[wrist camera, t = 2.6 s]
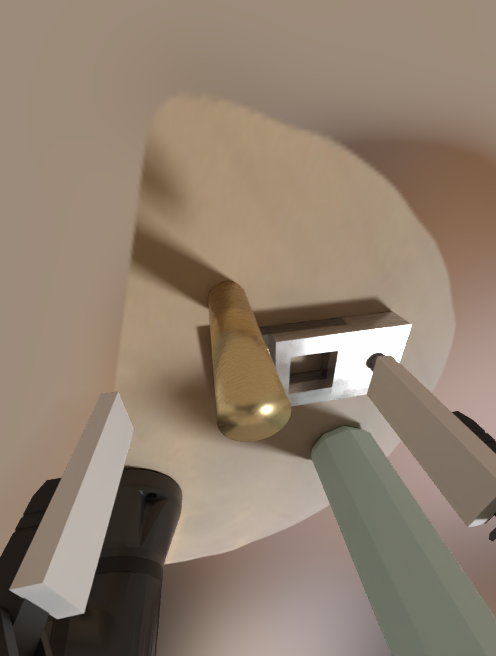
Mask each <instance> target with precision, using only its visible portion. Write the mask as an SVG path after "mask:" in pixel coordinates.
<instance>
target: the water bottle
mask: <svg viewBox="0 0 496 656" xmlns="http://www.w3.org/2000/svg"><path fill="white" fill-rule="evenodd" d="M311 458H312V461H313V463H314V466H315V468H316V471H317V473H318V476H319V478H320V480H321V483H322V485H323V488H324V490H325V493H326V495H327V498H328V500H329V503H330V505H331V508H332V510H333V512H334V515H335V517H336V520H337V522H338V525H339V527H340V530H341V532H342V535H343V537H344V540H345V542H346V545H347V547H348V549H349V552H350V555H351V557H352V559H353V562H354V564H355V567H356V569H357V572H358V574H359V577H360V579H361V582H362V584H363V587H364V589H365V592H366V594H367V596H368V599H369V601H370V604H371V606H372V609H373V611H374V614H375V616H376V619H377V621H378V624H379V626H380V629H381V631H382V633H383V636H384V638H385V641H386V643H387V646H388V648H389V650H390V653H391V656H496V618H495V616H494V615H493V614H492V612H491V611H490V609H489V608H488V606H487V605H486V603H485V602H484V600H483V599H482V597H481V596H480V594H479V593H478V591H477V590H476V589H475V587H474V586H473V584H472V583H471V581H470V580H469V578H468V577H467V575H466V574H465V572H464V571H463V569H462V568H461V566H460V565H459V563H458V562H457V561H456V559H455V558H454V556H453V555H452V553H451V552H450V550H449V549H448V547H447V546H446V544H445V543H444V541H443V540H442V538H441V537H440V536H439V534H438V532H437V531H436V529H435V528H434V526H433V525H432V524H431V522H430V521H429V519H428V518H427V516H426V515H425V513H424V512H423V510H422V509H421V507H420V506H419V504H418V503H417V501H416V500H415V499H414V497H413V496H412V494H411V493H410V491H409V490H408V488H407V487H406V485H405V484H404V482H403V481H402V479H401V478H400V476H399V475H398V474H397V472H396V471H395V469H394V468H393V466H392V465H391V463H390V462H389V460H388V459H387V457H386V456H385V454H384V453H383V451H382V450H381V448H380V447H379V445H378V444H377V442H376V441H375V439H374V438H373V437H372V435H371V434H370V433H369V432H367V431H365V430H362V429H359V428H354V427H348V426H342V427H340V428H337V429H334V430H332V431H329V432H327V433H324V434H323V435H322V436H321V438H320V439H319V440H318V442H317V443H316V444H315V445H314V447H313V449H312V452H311Z"/></svg>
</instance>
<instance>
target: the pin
mask: <svg viewBox="0 0 496 656" xmlns="http://www.w3.org/2000/svg"><path fill="white" fill-rule="evenodd" d="M208 306H209V320H210V333H211V347H212V361H213V374H214V388H215V402H216V415H217V425H218V428H219V430H220V431H221V432H222V433H223V434H224V435H225V436H226V437H228V438H230V439H233V440H236V441H242V442H252V441H258V440H262V439H265V438H268V437H270V436H272V435H274V434H275V433H277V432H278V431H280V430H281V429H282V428H283V427H284V426H285V425H286V423H287V422H288V420H289V418H290V415H291V404H290V402H289V400H288V397H287V395H286V392H285V390H284V387H283V385H282V382H281V380H280V377H279V375H278V373H277V370H276V368H275V365H274V363H273V360H272V358H271V355H270V353H269V350H268V348H267V346H266V343H265V341H264V338H263V336H262V333H261V331H260V328H259V326H258V323H257V321H256V319H255V316H254V314H253V311H252V309H251V306H250V304H249V301H248V299H247V296H246V294H245V292H244V290H243V288H242V287H241V286H240V285H238V284H237V283H234V282H230V281H225V282H221V283H218V284H217V285H215V286H214V287H213V288H212V289H211V291H210V293H209V296H208Z"/></svg>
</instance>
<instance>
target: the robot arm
mask: <svg viewBox="0 0 496 656" xmlns="http://www.w3.org/2000/svg"><path fill="white" fill-rule="evenodd" d="M367 395H368V396H369V398H370V399H371V400H372V402H373V403H374V404H375V406H376V407H377V408H378V410H379V411H380V412H381V414H382V415H383V416H384V418H385V419H386V420H387V422H388V423H389V424H390V425H391V427H392V428H393V429H394V431H395V432H396V433H397V435H398V436H399V437H400V439H401V440H402V441H403V443H404V444H405V445H406V447H407V448H408V449H409V450H410V452H411V453H412V454H413V456H414V457H415V458H416V460H417V461H418V462H419V464H420V465H421V466H422V468H423V469H424V470H425V472H426V473H427V474H428V476H429V477H430V478H431V480H432V481H433V482H434V484H435V485H436V486H437V488H438V489H439V490H440V492H441V493H442V494H443V495H444V497H445V498H446V499H447V501H448V502H449V503H450V505H451V506H452V507H453V509H454V510H455V511H456V513H457V514H458V515H459V517H460V518H461V519H462V521H463V522H464V523H465V525H466V526H467V527H472V526H476V525H481V524H485V523H487V522H488V521H489V520H490V519H491V518H492V517H493V516H494V515H495V516H496V442H495V439H493V438H492V437H491V436H490V435H489V434H488V433H485V431H484V430H483V429H482V428H481V427H480V426H479V425H478V424H477V423H476V422H474V421H473V420H472V419H470V418H469V417H467V416H465V415H464V414H462V413H460V412H459V411H455V412H451V411H449V409H448V408H447V407H446V406H444V405H443V404H442V403H441V402H440V401H439V400H438V399H437V398H436V397H435V396H434V395H433V394H432V393H431V392H430V391H429V390H428V389H426V388H425V387H424V386H423V385H422V384H421V383H420V382H419V381H418V380H417V379H416V378H415V377H414V376H413V375H412V374H411V373H410V372H408V371H407V370H406V369H405V368H404V367H403V366H402V365H401V364H400V363H399V362H398V361H397V360H396V359H395V358H394V357H393V356H391V355H385V356H378V357H377V359H376V363H375V366H374V370H373V374H372V377H371V381H370V384H369V388H368V392H367ZM133 432H134V428H133V426H132V423H131V421H130V419H129V416H128V414H127V412H126V409H125V407H124V404H123V402H122V400H121V397H120V395H119V393H118V392H111V393H104V394H101V395H100V397H99V399H98V401H97V404H96V406H95V408H94V410H93V412H92V414H91V416H90V418H89V421H88V423H87V425H86V427H85V429H84V431H83V434H82V436H81V438H80V440H79V442H78V444H77V446H76V449H75V451H74V453H73V455H72V457H71V459H70V461H69V463H68V465H67V468H66V470H65V472H64V474H63V476H62V478H58V479H52V480H47V481H46V482H45V483H44V484H43V485H42V486H41V487H40V489H39V490H38V491H37V492H36V493H35V494H34V495H33V497H32V499H31V501H30V502H29V504H28V506H27V508H26V510H25V512H24V514H23V515H24V516H23V518H21V519H20V521H19V523H18V525H17V527H16V529H15V530H16V531H15V533H13V534H12V536H11V538H10V540H9V542H8V544H7V546H6V548H5V549H4V551H3V553H2V555H1V557H0V656H156V653H157V641H158V629H159V617H160V605H161V593H162V592H161V591H162V580H163V570H164V563H165V559H166V556H167V553H168V550H169V547H170V544H171V541H172V538H173V535H174V532H175V529H176V526H177V523H178V521H179V518H180V514H181V507H182V491H181V488H180V487H179V485H178V484H177V483H176V482H175V481H174V480H172V479H171V478H169V477H167V476H165V475H163V474H160V473H157V472H153V471H147V470H137V469H127V470H123V468H124V465H125V461H126V457H127V454H128V450H129V446H130V443H131V439H132V435H133ZM495 539H496V528H495V529H494V530H493V531H492V532H491V533H490V534H489V540H491V541H494V540H495Z"/></svg>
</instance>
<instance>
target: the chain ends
mask: <svg viewBox="0 0 496 656" xmlns="http://www.w3.org/2000/svg"><path fill="white" fill-rule="evenodd" d="M411 325H412V324H410V323H409V322H407V321H406V320H404V319H403V318H401V317H400V316H399V315H397V314H396V313H394V312H393V311H391V312H383V313H375V314H366V315H358V316H350V317H342V318H334V319H325V320H317V321H309V322H301V323H293V324H284V325H276V326H268V327H260V331H261V333H262V336H263V338H264V341H265V343H266V346H267V348H268V350H269V353H270V355H271V358H272V360H273V363H274V365H275V368H276V370H277V373H278V375H279V377H280V380H281V382H282V385H283V387H284V390H285V392H286V395H287V397H288V400H289V402H290V404H291V407H292V406H298V405H304V404H310V403H316V402H322V401H328V400H335V399H341V398H347V397H353V396H359V395H365V394H367V392H368V388H369V384H370V381H371V377H372V374H373V370H374V366H375V363H376V359H377V357H378V356H385V355H391V356H393V357H394V358H395V359H396V360H397V361H398V362H400V359H401V356H402V353H403V350H404V347H405V344H406V341H407V338H408V335H409V332H410V328H411ZM210 335H211V334H210ZM317 353H323V360H322V367H321V370H318V371H311V372H304V373H298V374H291V375H290V358H291V357H295V356H303V355H310V354H317Z"/></svg>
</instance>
